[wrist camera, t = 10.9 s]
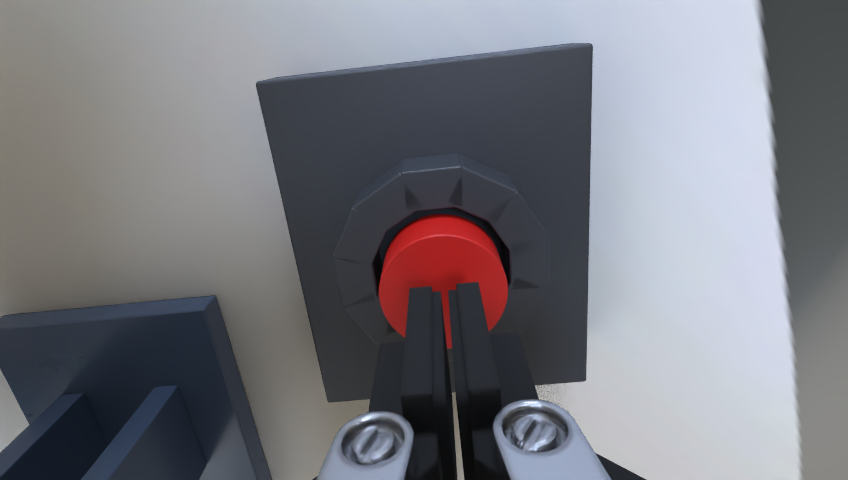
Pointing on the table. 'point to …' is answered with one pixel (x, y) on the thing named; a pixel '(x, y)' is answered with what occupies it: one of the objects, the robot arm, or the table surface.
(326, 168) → the button housing
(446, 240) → the stop button
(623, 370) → the table surface
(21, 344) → the switch bracket
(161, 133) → the table surface
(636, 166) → the table surface
